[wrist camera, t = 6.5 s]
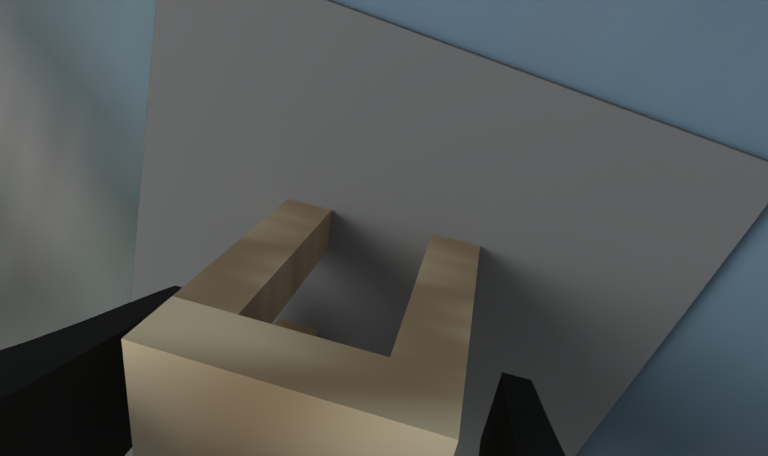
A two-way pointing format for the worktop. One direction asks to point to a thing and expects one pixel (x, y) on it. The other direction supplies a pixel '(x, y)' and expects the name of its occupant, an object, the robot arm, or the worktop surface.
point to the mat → (435, 193)
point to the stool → (297, 358)
